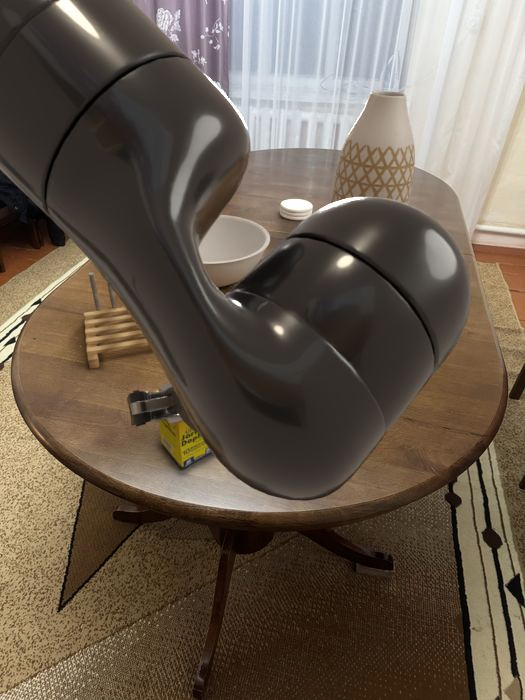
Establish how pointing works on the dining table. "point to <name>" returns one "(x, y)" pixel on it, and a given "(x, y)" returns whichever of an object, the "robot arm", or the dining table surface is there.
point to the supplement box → (182, 442)
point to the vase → (377, 152)
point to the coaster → (295, 209)
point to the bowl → (232, 249)
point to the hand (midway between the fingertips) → (202, 399)
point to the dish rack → (108, 328)
